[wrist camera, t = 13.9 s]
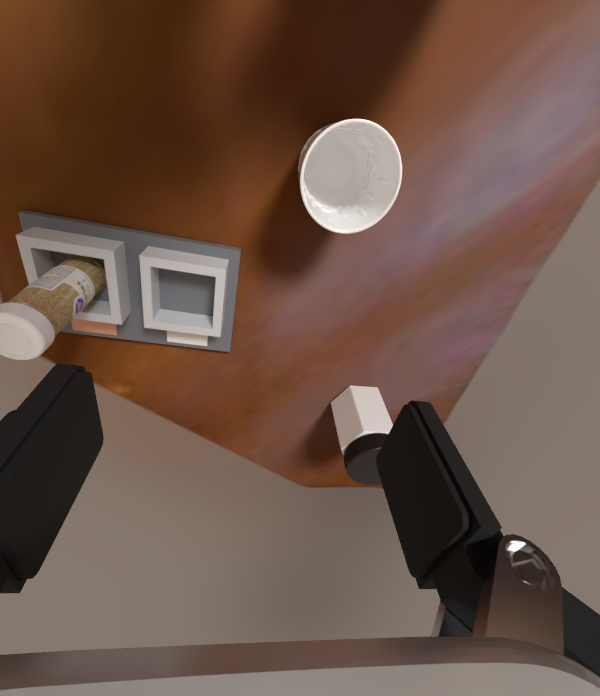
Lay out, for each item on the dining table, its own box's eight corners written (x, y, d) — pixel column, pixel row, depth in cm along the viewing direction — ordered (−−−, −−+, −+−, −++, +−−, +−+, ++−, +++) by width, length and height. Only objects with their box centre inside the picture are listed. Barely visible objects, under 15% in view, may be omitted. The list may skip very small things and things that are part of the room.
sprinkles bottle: (112, 292, 38) (51, 363, 27) (70, 289, 37) (-11, 361, 26) (103, 253, 35) (31, 315, 24) (57, 250, 35) (-38, 312, 24)
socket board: (23, 209, 33) (-3, 219, 30) (241, 248, 37) (238, 260, 34) (52, 326, 41) (34, 344, 38) (230, 347, 45) (227, 365, 42)
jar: (324, 393, 51) (337, 457, 41) (374, 376, 50) (400, 438, 40) (341, 427, 56) (356, 493, 46) (386, 413, 55) (412, 477, 45)
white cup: (384, 165, 34) (422, 180, 25) (328, 223, 36) (345, 253, 28) (334, 97, 30) (359, 88, 22) (276, 166, 33) (278, 182, 25)
